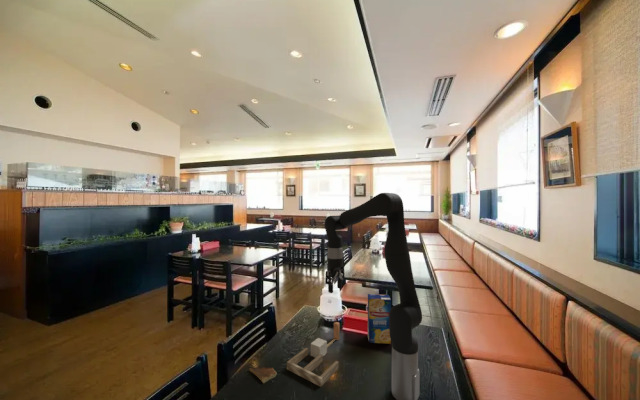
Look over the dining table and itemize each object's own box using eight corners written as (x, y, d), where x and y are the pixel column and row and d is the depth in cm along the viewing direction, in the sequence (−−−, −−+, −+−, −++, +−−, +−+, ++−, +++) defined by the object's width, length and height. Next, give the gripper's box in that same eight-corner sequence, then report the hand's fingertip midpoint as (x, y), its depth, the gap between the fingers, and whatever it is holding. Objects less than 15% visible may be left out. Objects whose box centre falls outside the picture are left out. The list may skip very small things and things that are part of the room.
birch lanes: (338, 368, 106) (338, 361, 106) (320, 387, 96) (320, 379, 96) (305, 354, 117) (305, 347, 117) (286, 369, 106) (286, 361, 106)
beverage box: (391, 343, 126) (391, 299, 126) (368, 342, 127) (369, 298, 127) (388, 336, 133) (388, 294, 133) (367, 335, 134) (367, 293, 134)
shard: (248, 371, 105) (248, 366, 105) (264, 363, 110) (264, 359, 110) (262, 385, 97) (262, 380, 97) (279, 375, 103) (279, 371, 103)
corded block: (342, 339, 130) (342, 323, 130) (319, 359, 113) (319, 341, 113) (333, 336, 132) (333, 321, 133) (310, 355, 116) (310, 338, 116)
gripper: (334, 260, 114) (334, 296, 114) (348, 255, 126) (349, 287, 126) (320, 258, 119) (320, 292, 118) (336, 253, 130) (336, 285, 130)
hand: (335, 290), depth 122 cm, fingers open, 8 cm apart
